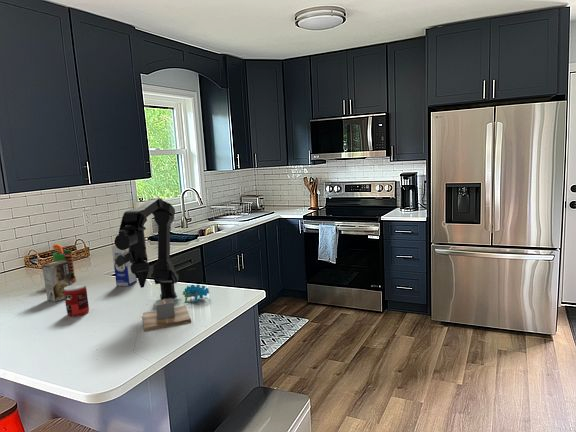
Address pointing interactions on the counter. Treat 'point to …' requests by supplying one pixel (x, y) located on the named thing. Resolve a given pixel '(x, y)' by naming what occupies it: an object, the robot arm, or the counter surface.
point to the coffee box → (56, 279)
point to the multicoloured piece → (64, 259)
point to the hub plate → (166, 319)
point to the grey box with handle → (165, 308)
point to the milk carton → (123, 270)
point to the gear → (195, 292)
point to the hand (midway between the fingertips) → (142, 284)
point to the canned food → (76, 300)
